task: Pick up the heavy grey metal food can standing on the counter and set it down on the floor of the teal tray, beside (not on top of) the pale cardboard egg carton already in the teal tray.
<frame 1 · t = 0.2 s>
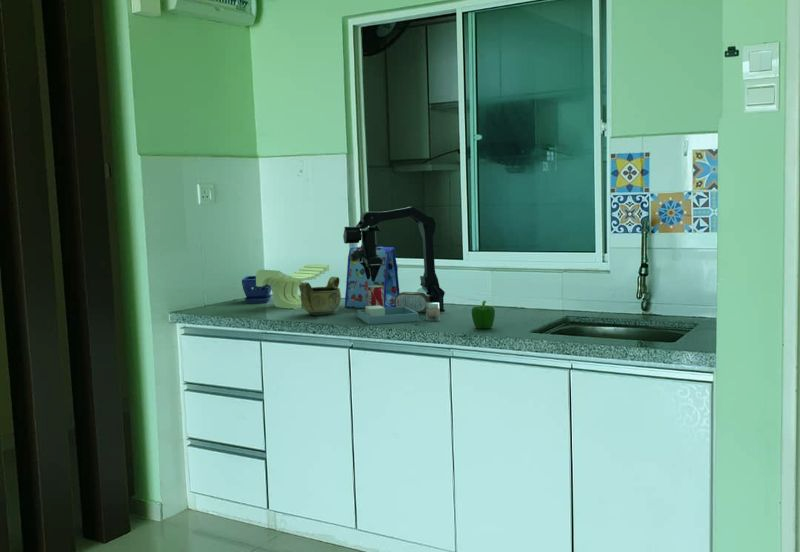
hand: (370, 280, 340), 14 cm above the worktop, tool pointing down, fingers open, 9 cm apart
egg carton: (375, 319, 326), resting on teal tray
tin: (411, 312, 348), on the worktop
soda can: (375, 315, 343), on the worktop
ceramic bowl: (321, 315, 347), on the worktop
lunch bag: (372, 307, 366), on the worktop
teal tray: (387, 320, 327), on the worktop
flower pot: (258, 302, 393), on the worktop
slatted curved stool: (294, 306, 376), on the worktop
bell pepper: (483, 328, 303), on the worktop
food can: (433, 320, 323), on the worktop
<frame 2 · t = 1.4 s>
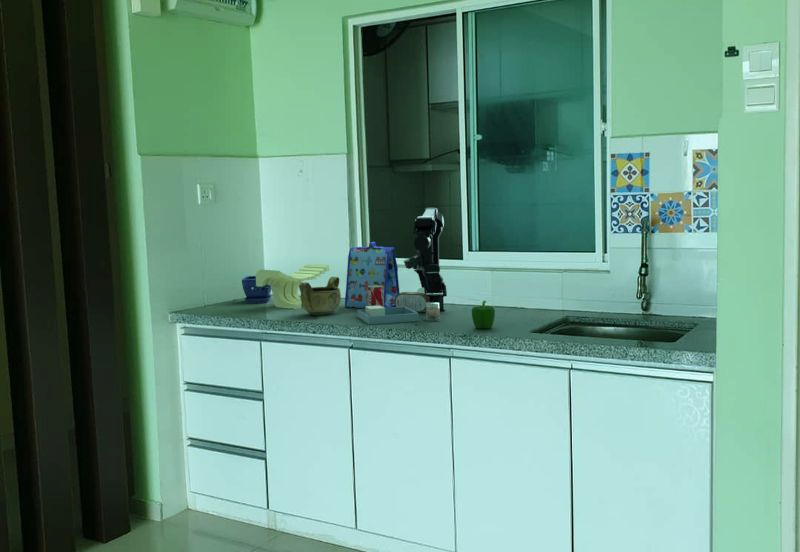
hand: (426, 288, 323), 12 cm above the worktop, tool pointing down, fingers open, 9 cm apart
nothing on the worktop moved.
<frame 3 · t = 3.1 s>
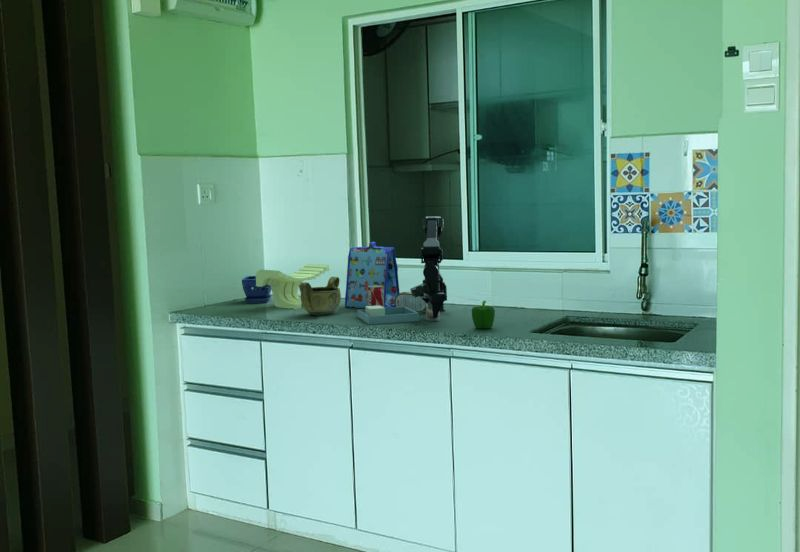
hand: (432, 316, 323), 2 cm above the worktop, tool pointing down, fingers closed on food can, 5 cm apart
food can: (433, 320, 323), on the worktop, touching gripper
everything else where it was.
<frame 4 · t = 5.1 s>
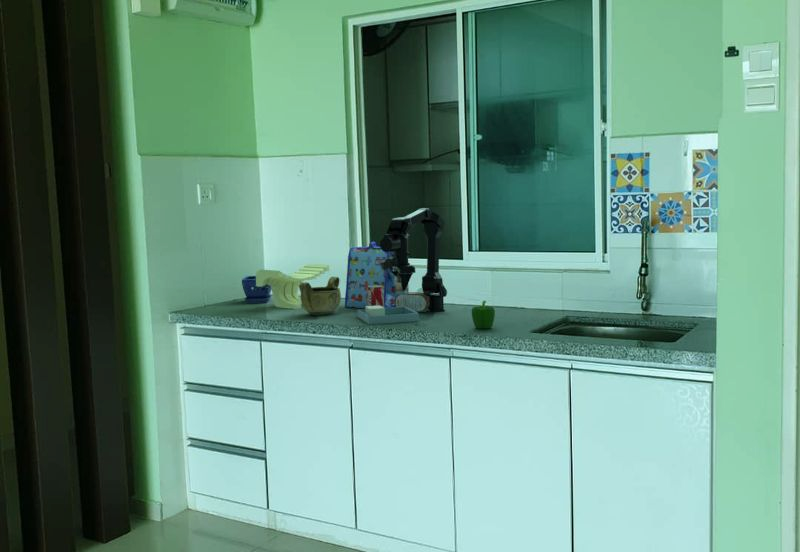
hand: (401, 289, 327), 12 cm above the worktop, tool pointing down, fingers closed on food can, 5 cm apart
food can: (401, 293, 327), point 10 cm above the worktop, touching gripper
everything else where it was.
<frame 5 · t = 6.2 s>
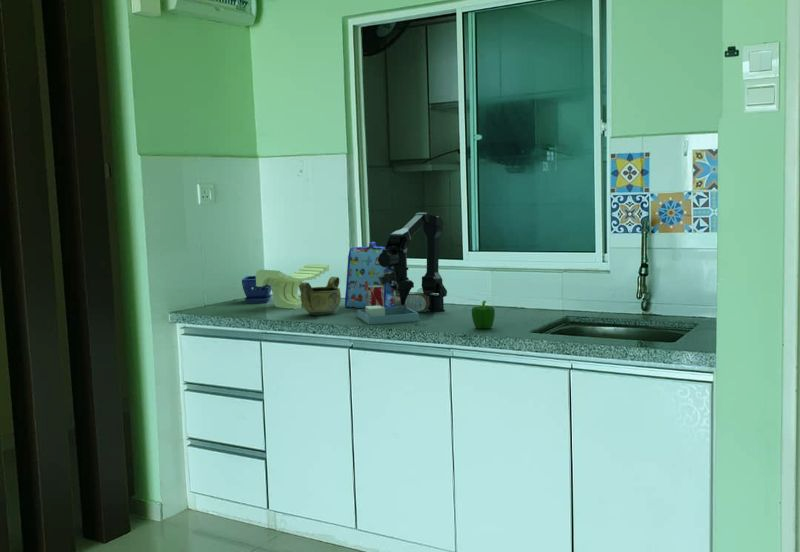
hand: (400, 303, 328), 6 cm above the worktop, tool pointing down, fingers closed on food can, 5 cm apart
food can: (400, 308, 328), point 4 cm above the worktop, touching gripper
everything else where it was.
when the fingers open (3 cm above the worktop, at t = 7.1 s): food can drops 1 cm, resting on teal tray.
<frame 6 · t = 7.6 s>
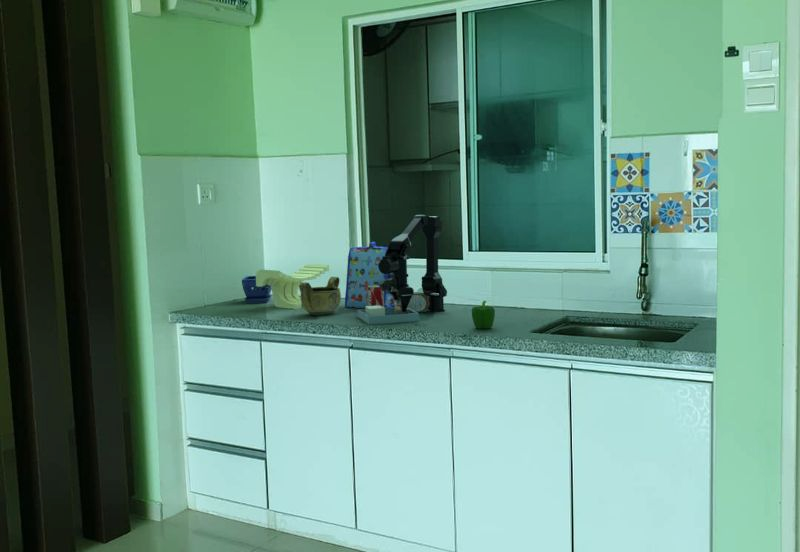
hand: (400, 310, 328), 3 cm above the worktop, tool pointing down, fingers open, 9 cm apart
food can: (400, 317, 329), point 1 cm above the worktop, touching teal tray
everything else where it was.
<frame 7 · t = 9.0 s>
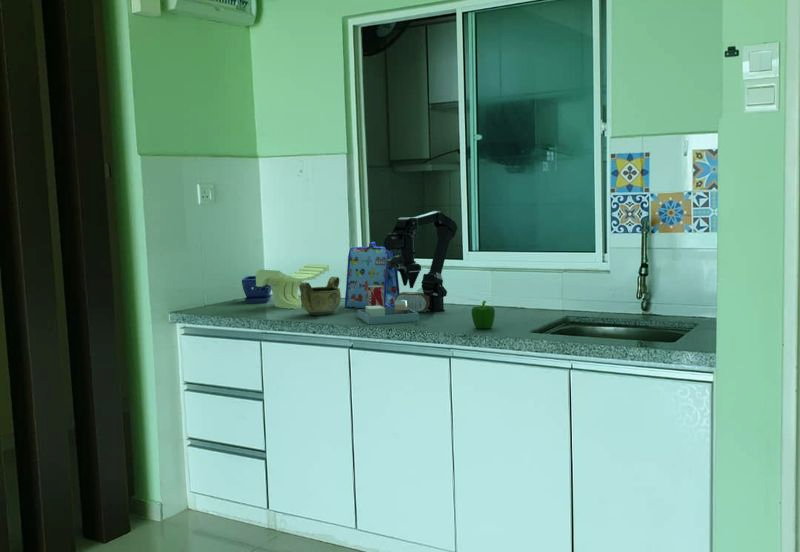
hand: (408, 286, 336), 12 cm above the worktop, tool pointing down, fingers open, 9 cm apart
nothing on the worktop moved.
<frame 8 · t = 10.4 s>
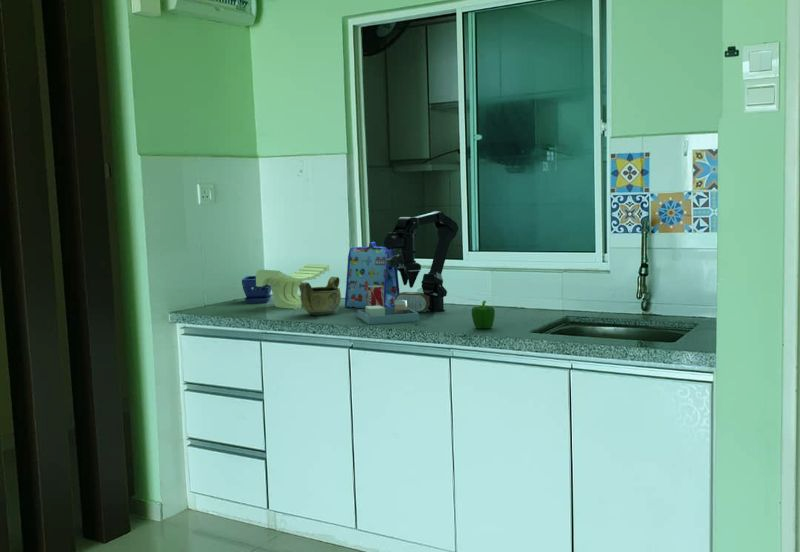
hand: (408, 286, 337), 12 cm above the worktop, tool pointing down, fingers open, 9 cm apart
nothing on the worktop moved.
at the end: food can inside the target area on the teal tray (1.5 cm from its centre), point 0.5 cm above the teal tray's base; food can tilted 0°; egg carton moved 0.0 cm from its start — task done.
